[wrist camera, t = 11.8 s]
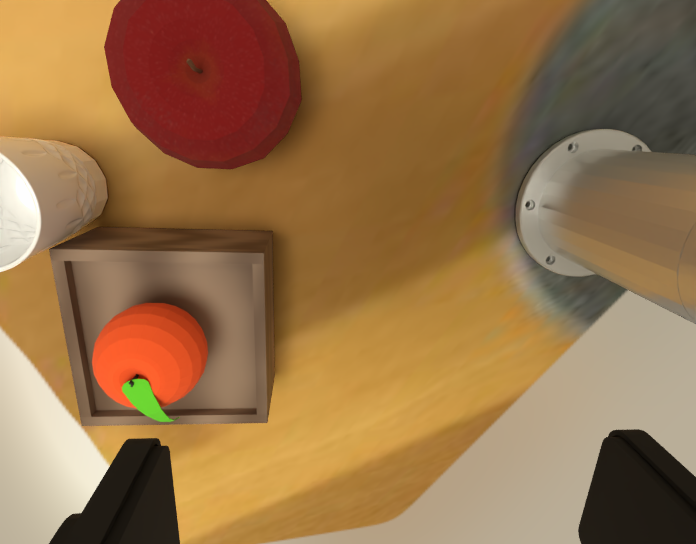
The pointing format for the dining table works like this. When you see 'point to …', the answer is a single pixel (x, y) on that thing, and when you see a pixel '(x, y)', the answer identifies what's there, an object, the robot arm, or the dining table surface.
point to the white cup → (44, 195)
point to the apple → (205, 77)
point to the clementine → (150, 357)
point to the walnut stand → (184, 292)
